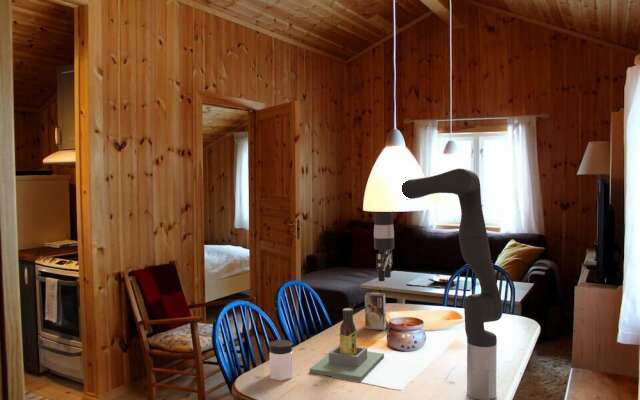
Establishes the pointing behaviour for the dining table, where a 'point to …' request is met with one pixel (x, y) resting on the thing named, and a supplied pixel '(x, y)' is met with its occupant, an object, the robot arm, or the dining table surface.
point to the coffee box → (375, 311)
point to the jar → (280, 360)
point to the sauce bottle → (348, 333)
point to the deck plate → (347, 364)
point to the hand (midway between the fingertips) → (384, 279)
